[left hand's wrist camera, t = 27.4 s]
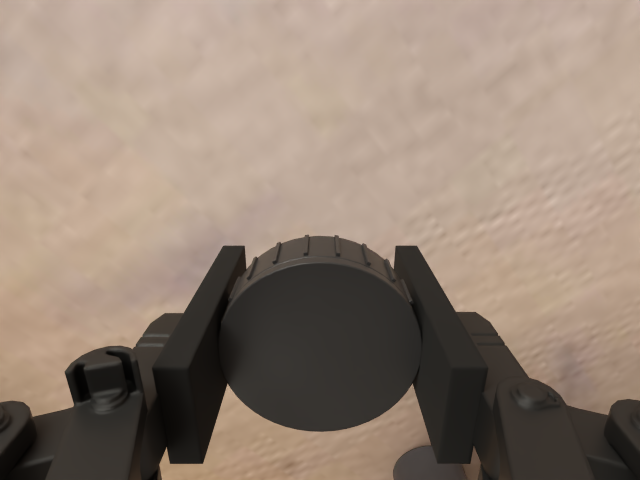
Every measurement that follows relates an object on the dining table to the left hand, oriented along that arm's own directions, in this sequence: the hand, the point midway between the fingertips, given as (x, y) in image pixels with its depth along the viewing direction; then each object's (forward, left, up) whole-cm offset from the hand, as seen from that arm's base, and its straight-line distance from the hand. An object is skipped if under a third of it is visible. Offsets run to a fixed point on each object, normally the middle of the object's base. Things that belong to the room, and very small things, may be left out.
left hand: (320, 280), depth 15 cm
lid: (0, 0, +4) cm, 4 cm away
